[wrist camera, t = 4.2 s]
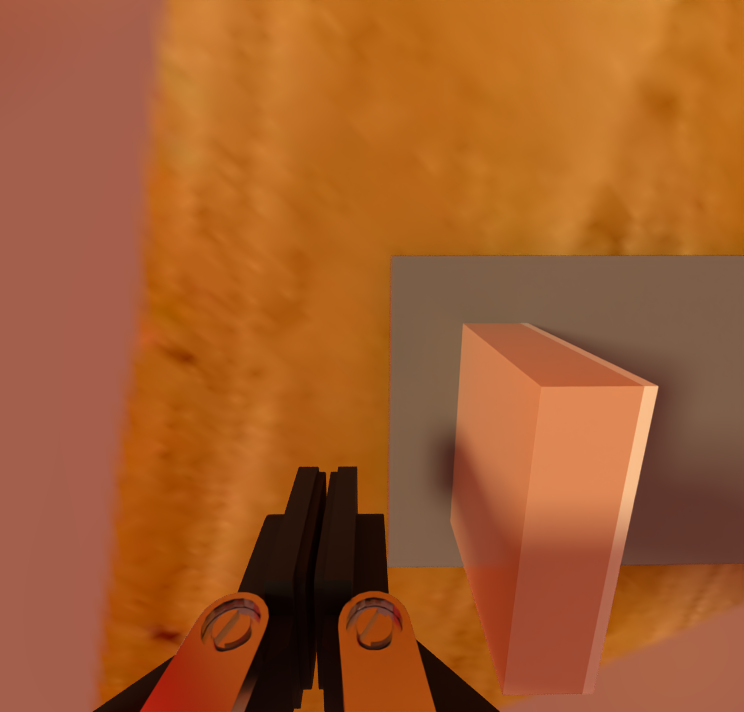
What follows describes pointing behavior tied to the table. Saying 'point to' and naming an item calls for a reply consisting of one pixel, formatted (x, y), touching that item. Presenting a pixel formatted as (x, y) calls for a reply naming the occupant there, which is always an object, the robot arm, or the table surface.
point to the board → (603, 339)
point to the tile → (544, 498)
